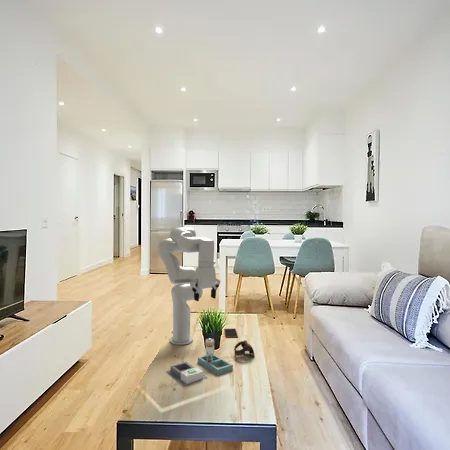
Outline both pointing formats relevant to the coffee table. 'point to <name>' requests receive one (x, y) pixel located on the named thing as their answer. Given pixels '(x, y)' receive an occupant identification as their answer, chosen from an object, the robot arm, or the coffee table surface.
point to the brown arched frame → (245, 348)
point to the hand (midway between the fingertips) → (205, 299)
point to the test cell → (209, 350)
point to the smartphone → (230, 333)
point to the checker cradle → (186, 373)
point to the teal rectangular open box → (216, 364)
